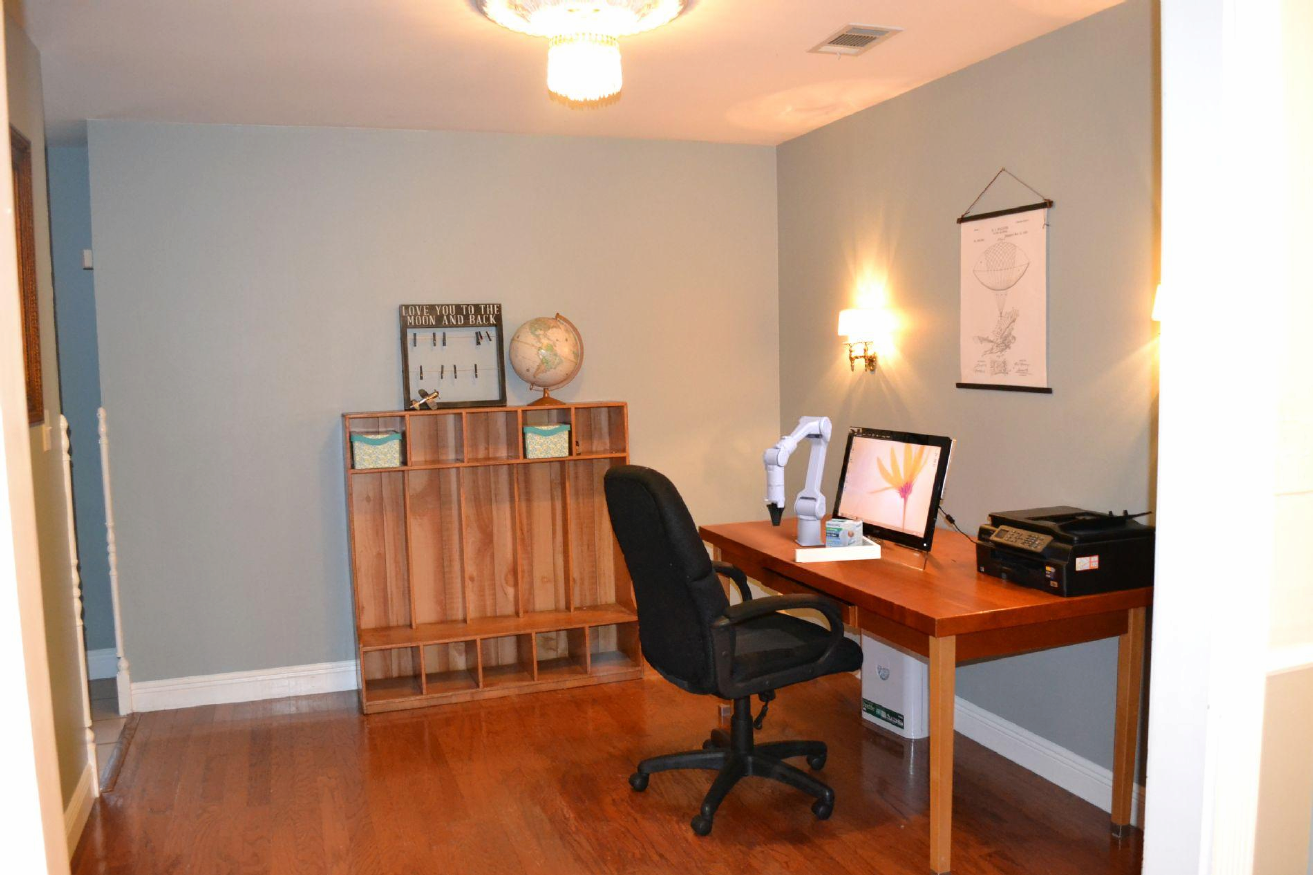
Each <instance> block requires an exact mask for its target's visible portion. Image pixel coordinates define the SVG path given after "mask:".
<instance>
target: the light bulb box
mask: <svg viewBox="0 0 1313 875" xmlns="http://www.w3.org/2000/svg"><path fill="white" fill-rule="evenodd" d="M862 535H863V520H856V519H855V520H853V519H842V518H841V519H840V518H839V519H838V518H832V519H829V520H828V521H827V520H826V522H825V548H832V547H851V546H863V544H862Z"/></svg>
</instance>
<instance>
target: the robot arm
mask: <svg viewBox="0 0 1313 875" xmlns="http://www.w3.org/2000/svg"><path fill="white" fill-rule="evenodd" d="M832 428H833V425H832V422H831V420H830V418H829V416H808V415H803V416H801V418H800V419H798V423H797V426H796V427H795V429H794V430H793V431H792V432H791V433H790V435H783V436H782V437H781V439H780V440H778V442H777V443H775V444H774V446H773V447H772V448H767V449H766V450H764V453H763V455H762V459H761V460H762V463H763V465H764V471H765V472H766V497H763V501H764V502H770V503H767V504H766V508H767V509H768V512H769V516H770V520H771V525H772V527H780V526H781V521H782V518H783V517H782V516H783V514H784V511H785V509H786V504H785V501H786V498H785V466H787V463H788V460H789V458H790V455H792V454H793V452H794V451H796V450H797V447H798V443H799V442H801V441H802V440H803V439H804V438H805V439H806V440H807V441H808V442H809V443H810V444H811V449H810V453H809V454H810V456H809V460H808V461H809V462H808V467H807V473H806V478H805V485H804V489H802V490H801V491H800V492H798V493H797V497H796V500H795V501H794V504H793V512H794V515H796V516H797V519H798V522H797V539H795V542H796V543H797V544H798V545H800V546H802V547H810V546H811V547H813V546H814V547H815V546H825V543H824V542H823V541H822V534H821V532H822V530H821V526H822V525H821V519H823V517H824V516H825V515H826V511H827V510H826V508H827V507H826V496H825V495H824V494H822V492H821V486H822V482H823V481H822V480H823V475H824V468H825V462H826V455H827V450H828V445H829V444H828V443H829V442H830V440H831V435H832Z"/></svg>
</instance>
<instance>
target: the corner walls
mask: <svg viewBox="0 0 1313 875" xmlns="http://www.w3.org/2000/svg"><path fill="white" fill-rule="evenodd" d="M862 544H863V546H851V547H832V548H826V547H819V548H818V547H817V548H814V547H813V548H802V549H801V548H799V549H798V548H797V549H796V548H795V554H794V555H795V556H794V557H795V558H794V560H795V563H796V562H802V563H815V562H816V563H819V562H835V561H837V562H838V561H853V560H872V559H873V560H874V559H881V558H882V556H881V545H880V544H878V543H876V542H874V541H873V540H871V539H869V538H868V537H866V536H864V535H863V534H862Z"/></svg>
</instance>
